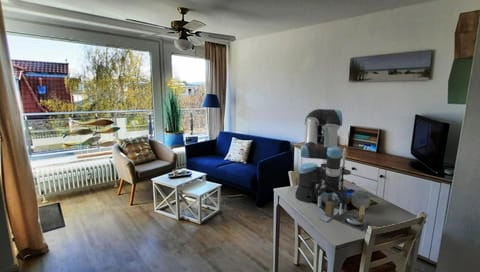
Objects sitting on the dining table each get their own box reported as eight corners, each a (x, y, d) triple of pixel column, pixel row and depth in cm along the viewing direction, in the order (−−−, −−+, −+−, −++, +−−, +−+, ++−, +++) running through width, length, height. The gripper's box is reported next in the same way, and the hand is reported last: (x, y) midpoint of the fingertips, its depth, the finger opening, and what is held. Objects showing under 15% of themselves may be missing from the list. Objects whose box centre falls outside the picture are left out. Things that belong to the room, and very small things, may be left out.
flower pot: (317, 201, 166) (318, 188, 164) (327, 199, 169) (328, 186, 167) (326, 207, 158) (327, 193, 156) (337, 204, 161) (338, 191, 159)
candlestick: (352, 191, 181) (357, 144, 174) (339, 193, 178) (343, 145, 172) (342, 186, 191) (346, 141, 185) (330, 187, 189) (333, 142, 182)
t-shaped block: (330, 224, 138) (331, 208, 136) (315, 218, 144) (316, 203, 143) (347, 210, 153) (348, 196, 152) (333, 205, 160) (334, 192, 158)
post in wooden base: (330, 217, 144) (332, 202, 142) (324, 214, 146) (326, 200, 144) (343, 206, 156) (345, 193, 154) (338, 205, 158) (339, 191, 157)
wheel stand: (348, 215, 147) (348, 213, 147) (368, 222, 140) (368, 220, 140) (340, 222, 140) (340, 220, 140) (360, 230, 132) (361, 228, 132)
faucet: (340, 217, 142) (342, 200, 140) (354, 214, 146) (356, 197, 144) (355, 227, 133) (357, 208, 131) (369, 223, 136) (371, 205, 134)
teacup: (371, 211, 152) (372, 199, 151) (352, 210, 154) (353, 197, 153) (365, 201, 165) (366, 190, 164) (347, 200, 168) (348, 188, 166)
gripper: (309, 170, 147) (307, 204, 151) (351, 182, 130) (348, 219, 134) (315, 168, 153) (313, 200, 157) (357, 178, 135) (353, 215, 139)
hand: (329, 209), depth 145 cm, fingers open, 12 cm apart
